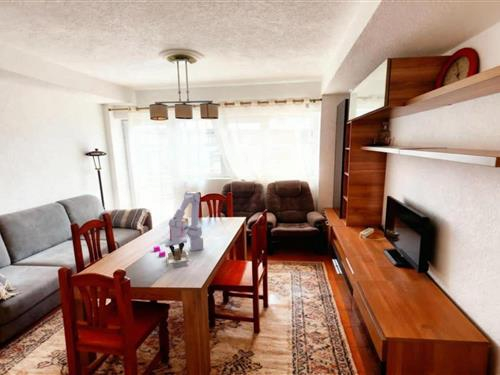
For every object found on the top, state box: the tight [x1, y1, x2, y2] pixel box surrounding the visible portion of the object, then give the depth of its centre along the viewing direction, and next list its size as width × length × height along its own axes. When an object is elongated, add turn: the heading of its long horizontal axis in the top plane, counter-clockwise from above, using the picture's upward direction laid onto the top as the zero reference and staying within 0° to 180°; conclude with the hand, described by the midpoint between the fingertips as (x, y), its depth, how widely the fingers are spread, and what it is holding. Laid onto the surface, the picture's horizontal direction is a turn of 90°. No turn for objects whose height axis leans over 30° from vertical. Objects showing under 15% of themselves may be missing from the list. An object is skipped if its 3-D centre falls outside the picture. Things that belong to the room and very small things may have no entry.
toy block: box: [153, 245, 166, 258], centre depth 199 cm, size 15×6×8 cm, turn 36°
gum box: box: [169, 217, 189, 240], centre depth 237 cm, size 22×7×13 cm, turn 166°
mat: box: [172, 261, 189, 269], centre depth 178 cm, size 9×7×1 cm
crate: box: [165, 249, 189, 265], centre depth 187 cm, size 14×10×4 cm
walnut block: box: [174, 247, 181, 261], centre depth 186 cm, size 4×4×7 cm
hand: (177, 254), depth 186 cm, fingers open, 4 cm apart
